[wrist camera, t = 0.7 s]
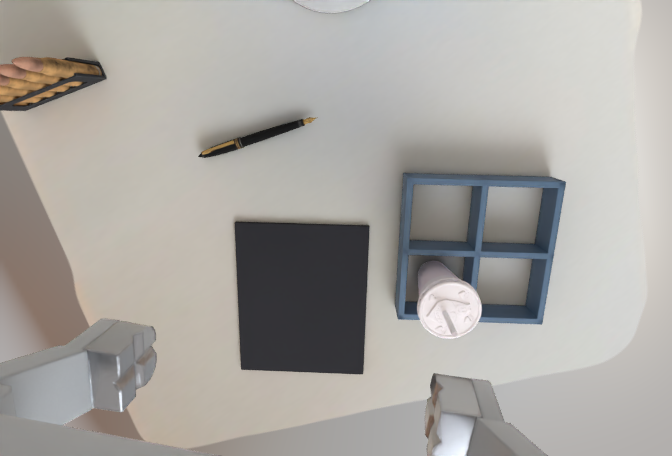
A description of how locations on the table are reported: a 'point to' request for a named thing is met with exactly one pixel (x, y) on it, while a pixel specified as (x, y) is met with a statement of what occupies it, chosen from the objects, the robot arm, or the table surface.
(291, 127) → the fountain pen
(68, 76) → the ammunition clip
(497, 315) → the blue compartment grid
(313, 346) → the mat
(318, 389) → the table surface
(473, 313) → the smoothie
